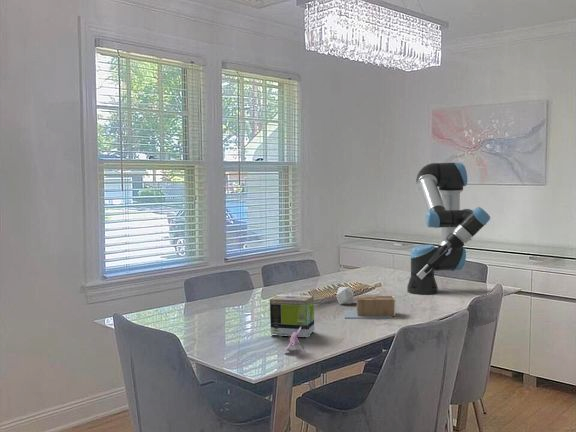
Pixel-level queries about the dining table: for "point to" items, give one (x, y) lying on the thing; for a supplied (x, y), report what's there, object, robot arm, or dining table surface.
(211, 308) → the dining table surface
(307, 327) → the tea box
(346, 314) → the mat
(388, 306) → the brown wooden block
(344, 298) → the white faceted ball
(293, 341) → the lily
